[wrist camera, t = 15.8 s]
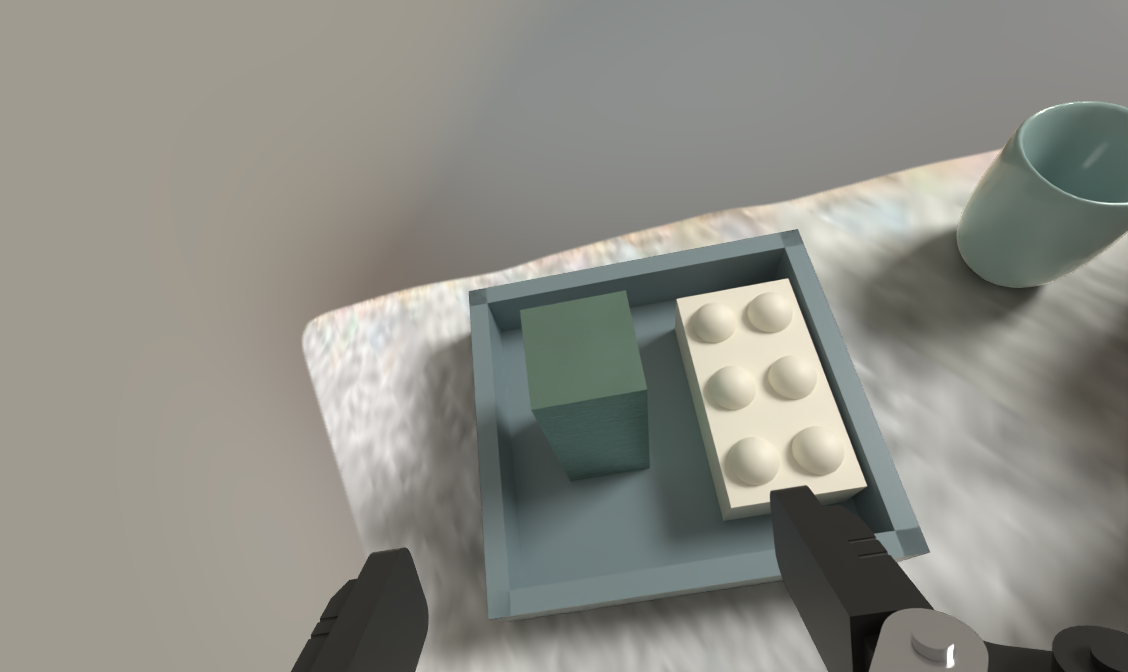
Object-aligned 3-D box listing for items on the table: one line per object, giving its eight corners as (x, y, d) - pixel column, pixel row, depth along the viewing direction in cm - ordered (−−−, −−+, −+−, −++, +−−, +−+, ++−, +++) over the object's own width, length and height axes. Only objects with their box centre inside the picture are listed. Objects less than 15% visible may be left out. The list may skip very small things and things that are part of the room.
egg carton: (776, 310, 39) (792, 266, 35) (844, 501, 33) (875, 480, 28) (674, 328, 40) (677, 287, 35) (723, 521, 34) (734, 502, 29)
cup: (919, 226, 42) (989, 118, 33) (1026, 201, 42) (1125, 86, 33) (974, 316, 38) (1069, 221, 29) (1092, 290, 38) (1225, 186, 29)
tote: (782, 271, 42) (797, 229, 37) (892, 563, 32) (929, 552, 28) (487, 326, 43) (468, 291, 39) (510, 621, 34) (488, 619, 29)
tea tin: (634, 394, 38) (625, 290, 27) (649, 468, 36) (647, 389, 24) (560, 407, 38) (519, 310, 27) (570, 481, 36) (531, 409, 24)
